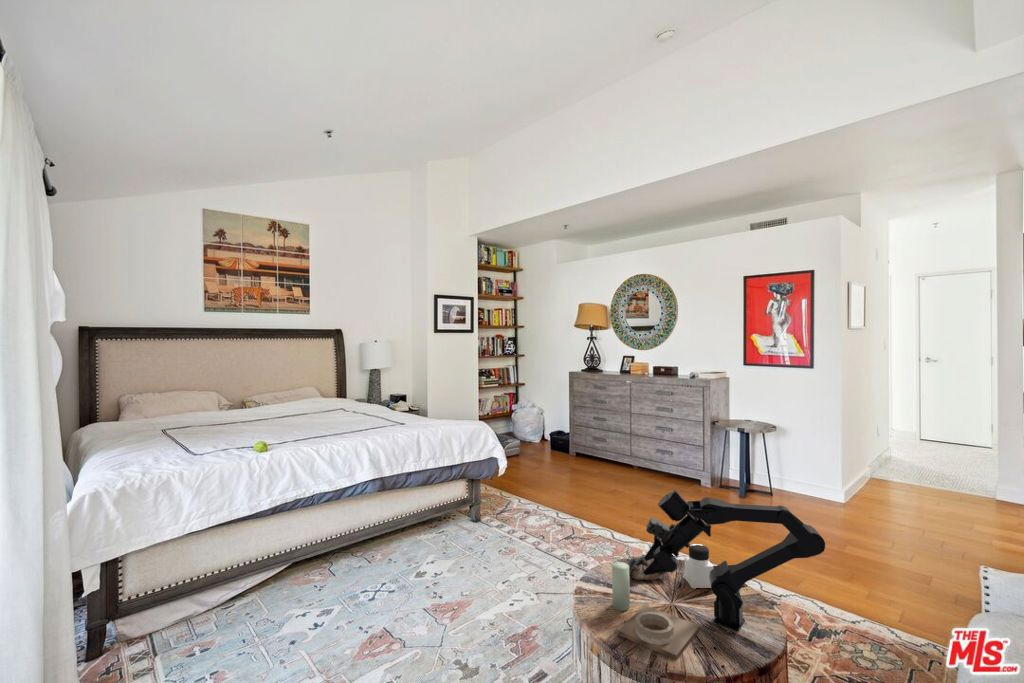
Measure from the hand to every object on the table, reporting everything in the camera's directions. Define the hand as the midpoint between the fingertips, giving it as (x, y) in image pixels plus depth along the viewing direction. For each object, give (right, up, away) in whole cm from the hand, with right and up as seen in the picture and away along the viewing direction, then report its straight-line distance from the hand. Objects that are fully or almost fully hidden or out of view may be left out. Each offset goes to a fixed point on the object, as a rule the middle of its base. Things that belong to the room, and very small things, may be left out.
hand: (644, 566), depth 140 cm
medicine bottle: (+22, -13, +15) cm, 29 cm away
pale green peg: (-6, -13, +2) cm, 15 cm away
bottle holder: (+1, -13, -11) cm, 17 cm away
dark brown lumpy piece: (+6, -13, +18) cm, 23 cm away
